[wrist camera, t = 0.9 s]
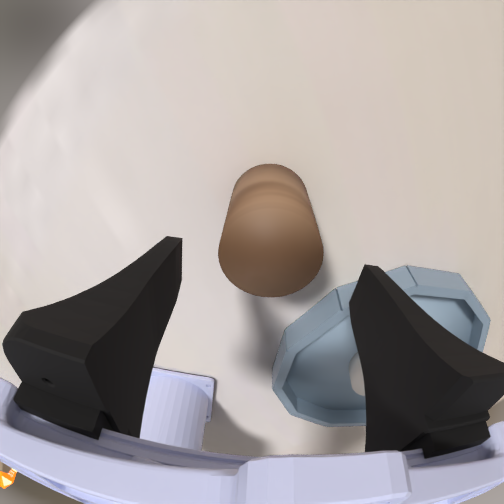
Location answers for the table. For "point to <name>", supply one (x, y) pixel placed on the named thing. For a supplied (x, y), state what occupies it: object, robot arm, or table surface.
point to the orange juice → (7, 478)
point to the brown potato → (270, 234)
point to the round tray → (345, 350)
